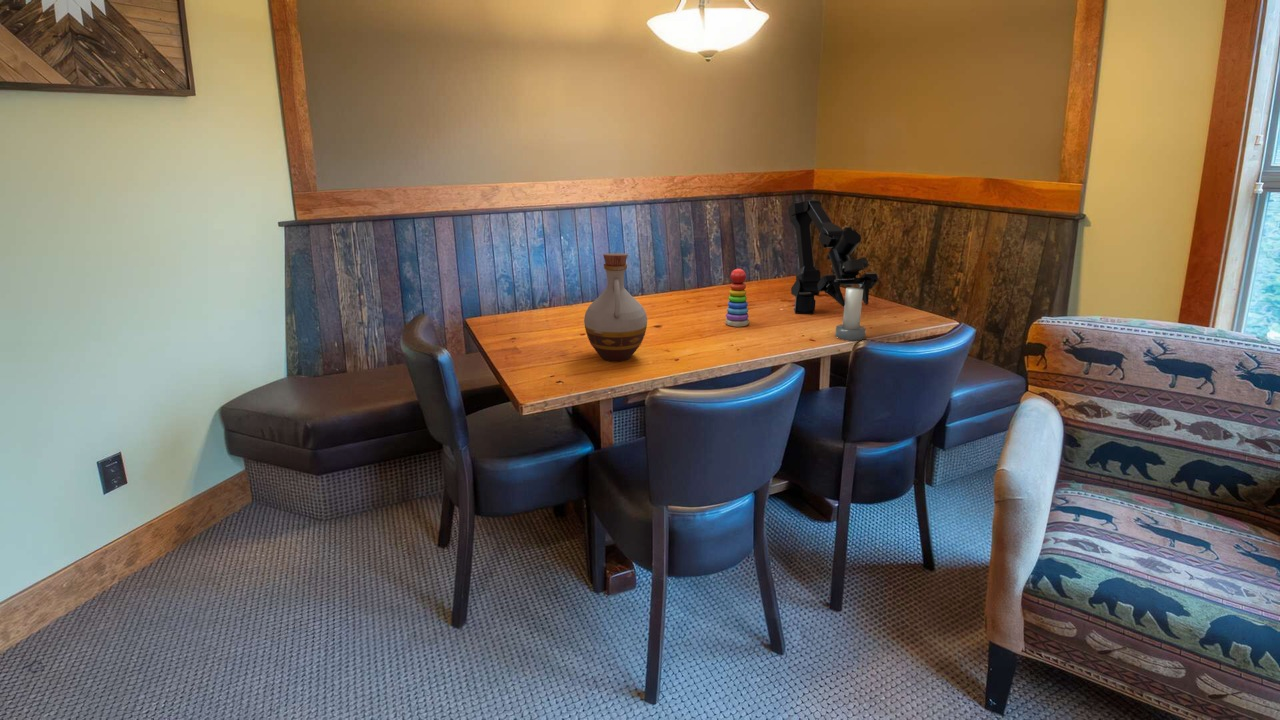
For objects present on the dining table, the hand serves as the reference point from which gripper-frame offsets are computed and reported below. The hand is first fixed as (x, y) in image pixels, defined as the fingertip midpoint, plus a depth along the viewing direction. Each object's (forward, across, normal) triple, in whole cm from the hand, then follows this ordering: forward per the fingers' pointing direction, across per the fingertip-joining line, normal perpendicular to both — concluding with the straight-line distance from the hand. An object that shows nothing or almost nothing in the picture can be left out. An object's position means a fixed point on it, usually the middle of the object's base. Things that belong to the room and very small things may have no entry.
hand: (855, 304), depth 224 cm
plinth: (+7, 0, +9) cm, 11 cm away
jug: (+10, -77, +5) cm, 78 cm away
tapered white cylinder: (+4, 0, +6) cm, 8 cm away
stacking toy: (-9, -29, +25) cm, 39 cm away
